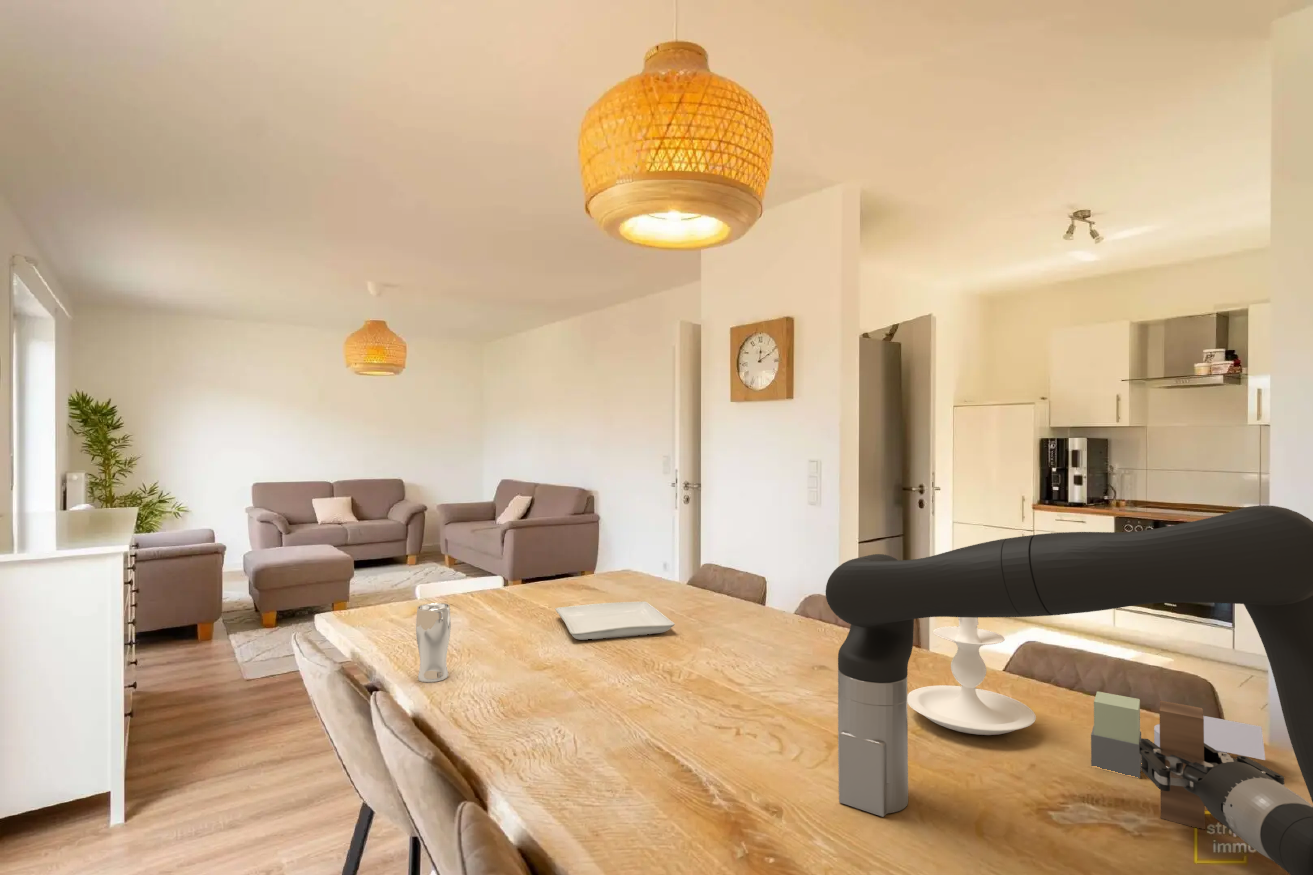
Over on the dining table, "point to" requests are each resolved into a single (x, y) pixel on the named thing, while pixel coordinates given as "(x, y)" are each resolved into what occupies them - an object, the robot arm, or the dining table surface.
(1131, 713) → the tower top
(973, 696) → the candlestick
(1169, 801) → the walnut pillar
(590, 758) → the dining table surface
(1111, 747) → the tower base
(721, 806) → the dining table surface
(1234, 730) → the wedge on round base
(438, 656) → the beer glass
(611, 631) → the square plate
